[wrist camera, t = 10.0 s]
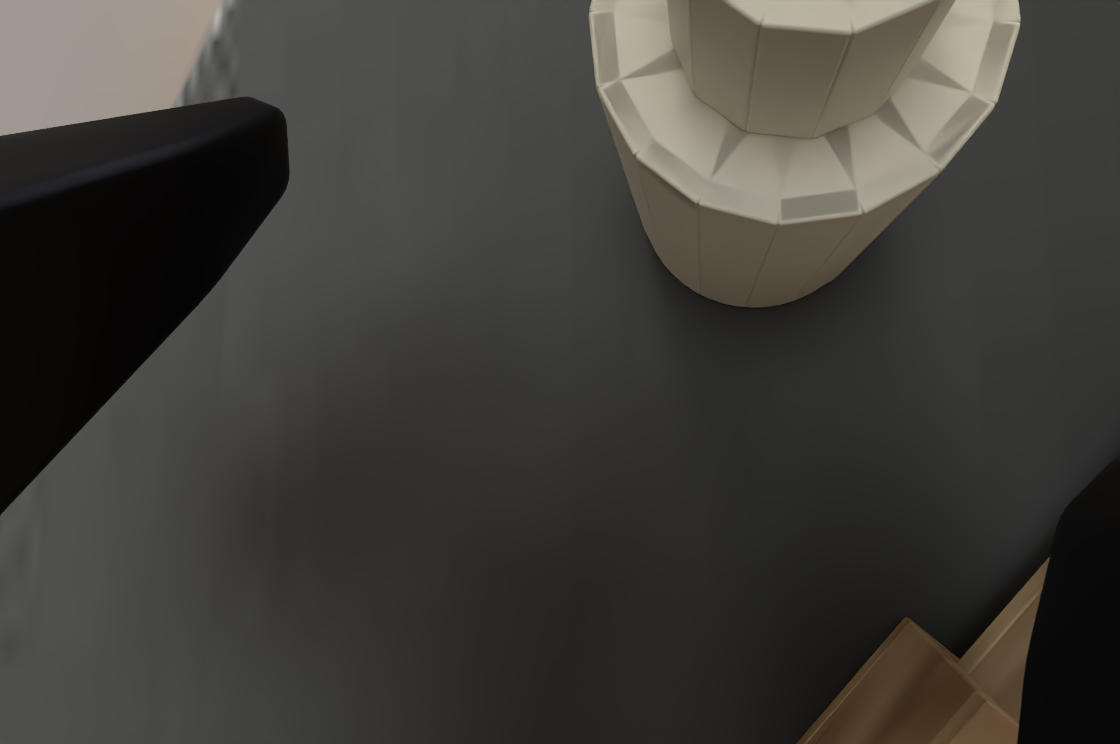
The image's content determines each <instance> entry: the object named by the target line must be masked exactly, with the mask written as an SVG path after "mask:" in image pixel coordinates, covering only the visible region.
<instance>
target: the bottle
mask: <svg viewBox="0 0 1120 744" xmlns="http://www.w3.org/2000/svg"><path fill="white" fill-rule="evenodd" d="M589 10H590V13H589V24H590V34H591V43H592V53H593V63H594V73H595V82H596V88H597V91H598V94H599V97H600V100H601V103H602V106H603V109H604V112H605V115H606V118H607V121H608V124H609V127H610V130H611V133H612V136H613V139H614V142H615V145H616V148H617V151H618V154H619V157H620V160H621V163H622V166H623V168H624V171H625V174H626V177H627V180H628V183H629V186H630V189H631V192H632V195H633V198H634V201H635V204H636V207H637V210H638V213H639V216H640V219H641V222H642V225H643V228H644V230H645V232H646V234H647V236H648V237H649V239H650V241H651V243H652V245H653V248H654V250H655V252H656V253H657V255H658V256H659V258H660V259H661V261H662V263H663V264H664V265H665V266H666V268H667V269H668V270H669V271H670V272H671V273H672V274H673V275H674V276H675V277H676V278H677V279H678V280H680V281H681V282H682V283H683V284H684V285H686V286H687V287H689V288H690V289H692V290H693V291H695V292H696V293H698V294H700V295H702V296H704V297H706V298H708V299H711V300H714V301H717V302H720V303H723V304H728V305H732V306H737V307H750V308H756V307H770V306H775V305H781V304H785V303H788V302H791V301H795V300H797V299H800V298H802V297H804V296H806V295H808V294H810V293H812V292H814V291H815V290H817V289H819V288H820V287H822V286H823V285H825V284H826V283H828V282H830V281H832V280H834V279H835V278H836V277H837V276H838V275H839V274H840V273H841V272H842V271H843V270H844V269H845V268H846V267H847V266H848V265H849V264H850V263H851V262H852V261H853V260H854V259H855V258H856V257H857V256H858V255H859V254H860V253H861V252H862V251H863V250H864V249H865V248H866V247H867V246H868V245H869V244H870V243H871V242H872V241H873V240H874V239H875V238H876V237H877V236H878V235H879V234H880V233H881V232H882V231H883V230H884V229H885V228H886V227H887V226H888V225H889V224H890V223H891V222H892V221H893V220H894V219H895V218H896V217H897V216H898V215H899V214H900V213H901V212H902V211H903V210H904V209H905V208H906V207H907V206H908V205H909V204H910V203H911V202H912V201H913V200H914V199H915V198H916V197H917V196H918V195H919V194H920V193H921V192H922V191H923V190H924V189H925V188H926V187H927V186H928V185H929V184H930V183H931V182H932V181H933V180H934V179H935V178H936V177H937V176H938V175H939V174H940V173H941V172H942V171H943V169H944V168H945V167H946V166H947V165H948V163H949V162H950V161H951V160H952V159H953V157H954V156H955V155H956V154H957V153H958V151H959V150H960V149H961V148H962V146H963V145H964V144H965V143H966V142H967V140H968V139H969V138H970V137H971V136H972V134H973V133H974V132H975V131H976V130H977V128H978V127H979V126H980V125H981V123H982V122H983V121H984V120H985V119H986V117H987V116H988V115H989V114H990V113H991V111H992V110H993V109H994V106H995V104H996V103H997V102H998V99H999V95H1000V92H1001V89H1002V85H1003V82H1004V79H1005V75H1006V72H1007V69H1008V65H1009V62H1010V59H1011V55H1012V52H1013V49H1014V45H1015V42H1016V39H1017V35H1018V32H1019V29H1020V20H1021V18H1020V11H1019V3H1018V0H592V2H591V5H590V8H589Z"/></svg>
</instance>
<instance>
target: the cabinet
mask: <svg viewBox="0 0 1120 744" xmlns="http://www.w3.org/2000/svg"><path fill="white" fill-rule="evenodd" d="M959 660H960V659H959V658H958V657H956V656H955V655H954V654H953V653H951V652H950V651H949V650H948V649H947V648H945V647H944V646H943V645H942V644H940V643H939V642H938V641H937V640H936V639H934V638H933V637H932V636H931V635H929V634H928V633H927V632H926V631H924V630H923V629H922V628H921V627H920V626H918V625H917V624H916V623H915V622H913V621H912V620H911V619H910V618H908V617H905V618H904V619H903V620H902V621H901V622H900V623H899V625H898V626H897V627H896V628H895V629H894V630H893V632H892V633H891V634H890V635H889V636H888V637H887V638H886V640H885V641H884V642H883V643H882V644H881V645H880V647H879V648H878V649H877V650H876V651H875V652H874V654H873V655H872V656H871V657H870V658H869V659H868V661H867V662H866V663H865V664H864V665H863V666H862V668H861V669H860V670H859V671H858V672H857V673H856V675H855V676H854V677H853V678H852V679H851V680H850V682H849V683H848V684H847V685H846V686H845V687H844V689H843V690H842V691H841V692H840V693H839V694H838V696H837V697H836V698H835V699H834V700H833V701H832V702H831V704H830V705H829V706H828V707H827V708H826V709H825V711H824V712H823V713H822V714H821V715H820V716H819V718H818V719H817V720H816V721H815V722H814V723H813V725H812V726H811V727H810V728H809V729H808V730H807V732H806V733H805V734H804V735H803V736H802V737H801V739H800V740H799V741H798V742H797V743H796V744H1017V740H1018V730H1019V722H1017V721H1016V720H1015V719H1014V718H1012V717H1011V716H1010V715H1009V714H1008V713H1006V712H1005V711H1004V710H1003V709H1001V707H1000V706H999V705H998V704H997V703H996V702H995V701H994V700H993V699H992V698H991V697H990V696H989V695H988V694H987V693H986V692H985V691H984V690H983V689H982V688H981V687H980V686H979V685H978V684H977V683H976V682H975V681H974V680H973V679H972V678H971V677H970V676H969V675H968V674H967V673H966V672H965V671H964V670H963V669H962V668H961V667H960V666H959V665H958V664H957V662H958V661H959Z"/></svg>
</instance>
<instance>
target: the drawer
mask: <svg viewBox="0 0 1120 744" xmlns="http://www.w3.org/2000/svg"><path fill="white" fill-rule="evenodd" d="M1049 559H1050V556H1049V558H1048V559H1047V560H1046V561H1045V562H1044V563H1043V565H1042V566H1041V567H1040V568H1039V569H1038V570H1037V571H1036V573H1035V574H1034V575H1033V576H1032V577H1031V578H1030V580H1029V581H1028V582H1027V583H1026V584H1025V585H1024V586H1023V588H1022V589H1021V590H1020V591H1019V592H1018V593H1017V594H1016V596H1015V597H1014V598H1013V599H1012V600H1011V601H1010V603H1009V604H1008V605H1007V606H1006V607H1005V608H1004V609H1003V611H1002V612H1001V613H1000V614H999V615H998V616H997V618H996V619H995V620H994V621H993V622H992V623H991V624H990V626H989V627H988V628H987V629H986V630H985V631H984V632H983V634H982V635H981V636H980V637H979V638H978V639H977V641H976V642H975V643H974V644H973V645H972V646H971V647H970V649H969V650H968V651H967V652H966V653H965V654H964V656H963V657H962V658H961V659H960V660H959V661H958V662H957V664H958V665H959V666H960V667H961V668H962V669H963V670H964V671H965V672H966V673H967V674H968V675H969V676H970V677H971V678H972V679H973V680H974V681H975V682H976V683H977V684H978V685H979V686H980V687H981V688H982V689H983V690H984V691H985V692H986V693H987V694H988V695H989V696H990V697H991V698H992V699H993V700H994V701H995V702H996V703H997V704H998V705H999V706H1000V707H1001V709H1003V710H1004V711H1005V712H1006V713H1008V714H1009V715H1010V716H1011V717H1012V718H1014V719H1015V720H1016V721H1017V722H1019V719H1020V709H1021V699H1022V689H1023V680H1024V672H1025V665H1026V658H1027V653H1028V648H1029V643H1030V638H1031V634H1032V630H1033V626H1034V622H1035V617H1036V613H1037V609H1038V605H1039V601H1040V596H1041V592H1042V588H1043V584H1044V580H1045V576H1046V571H1047V567H1048V563H1049Z"/></svg>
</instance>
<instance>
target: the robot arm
mask: <svg viewBox="0 0 1120 744" xmlns="http://www.w3.org/2000/svg"><path fill="white" fill-rule="evenodd" d="M288 181H289V155H288V138H287V124H286V119H285V116H284V114H283V113H282V112H281V111H280V110H279V109H278V108H276V107H274V106H272V105H269V104H267V103H264V102H262V101H259V100H257V99H254V98H251V97H239V98H232V99H226V100H220V101H214V102H208V103H201V104H195V105H189V106H183V107H177V108H170V109H164V110H158V111H152V112H146V113H139V114H133V115H127V116H121V117H115V118H109V119H103V120H96V121H90V122H84V123H78V124H71V125H65V126H59V127H53V128H47V129H40V130H34V131H28V132H22V133H16V134H9V135H3V136H0V515H1V514H2V513H3V512H4V510H5V509H6V508H7V507H8V506H9V505H10V504H11V503H12V502H13V501H14V500H15V499H16V498H17V497H18V496H19V495H20V493H21V492H22V491H23V490H24V489H25V488H26V487H27V486H28V485H29V484H30V483H31V482H32V481H33V480H34V479H35V478H36V476H37V475H38V474H39V473H40V472H41V471H42V470H43V469H44V468H45V467H46V466H47V465H48V464H49V463H50V462H51V461H52V460H53V458H54V457H55V456H56V455H57V454H58V453H59V452H60V451H61V450H62V449H63V448H64V447H65V446H66V445H67V444H68V443H69V441H70V440H71V439H72V438H73V437H74V436H75V435H76V434H77V433H78V432H79V431H80V430H81V429H82V428H83V427H84V426H85V424H86V423H87V422H88V421H89V420H90V419H91V418H92V417H93V416H94V415H95V414H96V413H97V412H98V411H99V410H100V409H101V407H102V406H103V405H104V404H105V403H106V402H107V401H108V400H109V399H110V398H111V397H112V396H113V395H114V394H115V393H116V392H117V390H118V389H119V388H120V387H121V386H122V385H123V384H124V383H125V382H126V381H127V380H128V379H129V378H130V377H131V376H132V375H133V374H134V372H135V371H136V370H137V369H138V368H139V367H140V366H141V365H142V364H143V363H144V362H145V361H146V360H147V359H148V358H149V357H150V355H151V354H152V353H153V352H154V351H155V350H156V349H157V348H158V347H159V346H160V345H161V344H162V343H163V342H164V341H165V340H166V338H167V337H168V336H169V335H170V334H171V333H172V332H173V331H174V330H175V329H176V328H177V327H178V326H179V325H180V324H181V323H182V321H183V320H184V319H185V318H186V317H187V316H188V315H189V314H190V313H191V312H192V311H193V310H194V309H195V308H196V307H197V306H198V304H199V303H200V302H201V301H202V300H203V299H204V298H205V297H206V295H207V294H208V293H209V292H210V291H211V290H212V288H213V287H214V286H215V285H216V284H217V282H218V281H219V280H220V279H221V277H222V276H223V275H224V273H225V272H226V271H227V269H228V268H229V267H230V265H231V264H232V263H233V261H234V260H235V259H236V257H237V256H238V255H239V253H240V252H241V251H242V249H243V248H244V247H245V245H246V244H247V243H248V241H249V240H250V239H251V237H252V236H253V234H254V233H255V232H256V230H257V229H258V228H259V226H260V225H261V224H262V222H263V221H264V220H265V218H266V217H267V216H268V214H269V213H270V212H271V210H272V209H273V208H274V206H275V205H276V204H277V202H278V201H279V200H280V198H281V197H282V195H283V194H284V192H285V190H286V188H287V184H288ZM1017 744H1120V457H1119V458H1117V459H1115V460H1114V461H1112V462H1111V463H1110V464H1109V465H1108V466H1107V467H1106V468H1105V469H1104V470H1103V471H1102V472H1101V473H1100V474H1099V475H1098V476H1097V477H1096V478H1095V479H1093V480H1092V481H1091V482H1090V483H1089V484H1088V485H1087V486H1086V487H1085V488H1084V489H1083V490H1082V491H1081V492H1080V493H1079V494H1078V495H1077V496H1076V497H1075V498H1074V499H1073V500H1072V501H1071V502H1070V504H1069V505H1068V506H1067V507H1066V509H1065V510H1064V512H1063V514H1062V516H1061V518H1060V520H1059V523H1058V526H1057V529H1056V534H1055V538H1054V542H1053V546H1052V550H1051V555H1050V559H1049V563H1048V567H1047V571H1046V576H1045V580H1044V584H1043V588H1042V592H1041V596H1040V601H1039V605H1038V609H1037V613H1036V617H1035V622H1034V626H1033V630H1032V634H1031V638H1030V643H1029V648H1028V653H1027V658H1026V665H1025V672H1024V680H1023V689H1022V699H1021V709H1020V719H1019V730H1018V740H1017Z"/></svg>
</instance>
